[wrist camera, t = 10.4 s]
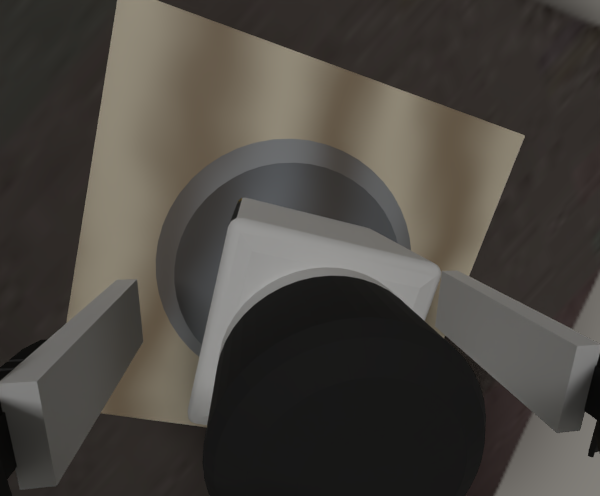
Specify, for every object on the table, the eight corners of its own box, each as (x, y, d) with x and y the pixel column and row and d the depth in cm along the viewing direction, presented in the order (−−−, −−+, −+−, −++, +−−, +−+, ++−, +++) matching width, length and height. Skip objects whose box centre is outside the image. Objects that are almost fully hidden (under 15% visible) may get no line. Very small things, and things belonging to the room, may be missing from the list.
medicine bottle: (238, 195, 16) (209, 264, 5) (373, 228, 18) (595, 344, 6) (209, 327, 18) (132, 621, 6) (336, 348, 19) (462, 624, 8)
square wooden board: (62, 395, 20) (37, 426, 18) (127, -3, 16) (105, -33, 14) (392, 441, 25) (407, 471, 22) (512, 136, 20) (547, 133, 18)
